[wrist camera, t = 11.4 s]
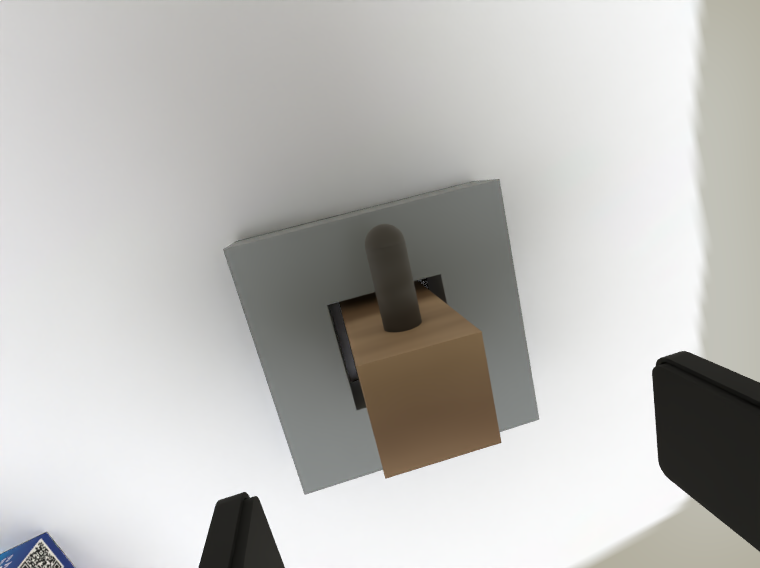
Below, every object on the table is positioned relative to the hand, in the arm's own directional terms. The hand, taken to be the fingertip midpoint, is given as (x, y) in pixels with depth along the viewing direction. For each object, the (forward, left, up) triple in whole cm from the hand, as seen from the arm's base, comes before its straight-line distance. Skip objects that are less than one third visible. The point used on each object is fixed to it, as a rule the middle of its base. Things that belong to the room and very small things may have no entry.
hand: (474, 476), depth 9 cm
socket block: (+1, 0, -13) cm, 13 cm away
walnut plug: (-1, 0, -13) cm, 13 cm away
